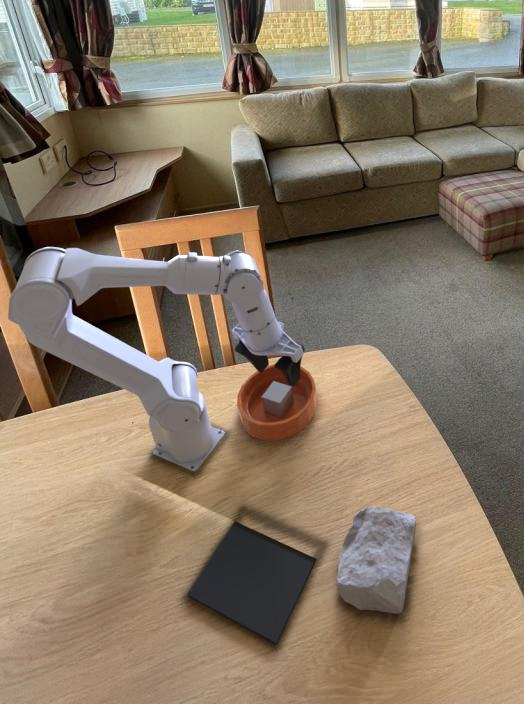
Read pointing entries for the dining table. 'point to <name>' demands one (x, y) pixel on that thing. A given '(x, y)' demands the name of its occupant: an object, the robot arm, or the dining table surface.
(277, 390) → the block
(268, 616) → the mat
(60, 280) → the robot arm
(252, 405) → the bowl
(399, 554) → the stone block
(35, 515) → the dining table surface
